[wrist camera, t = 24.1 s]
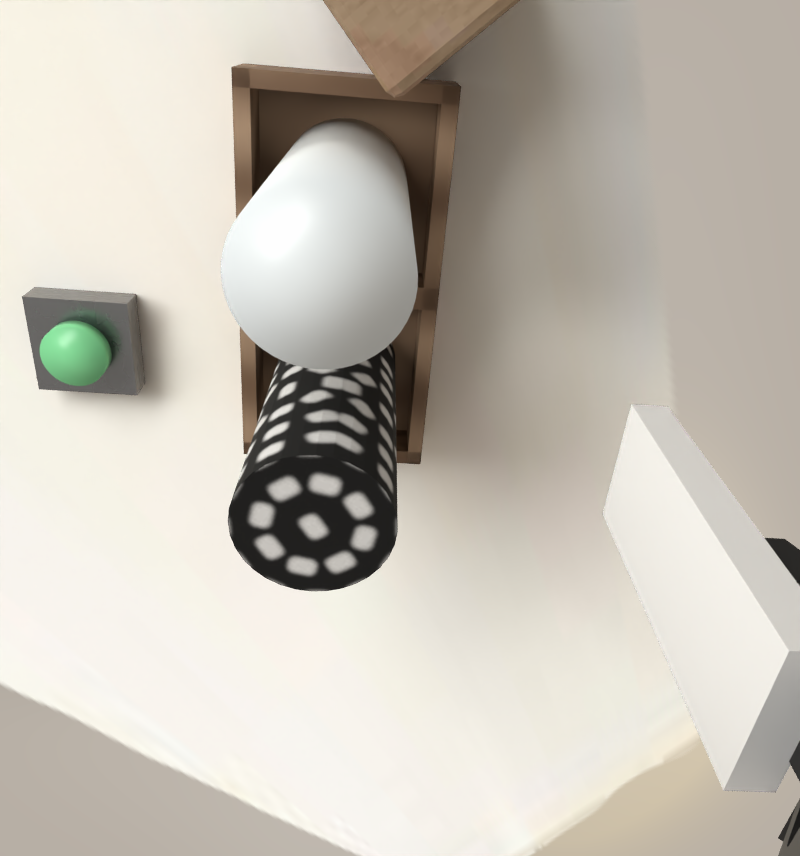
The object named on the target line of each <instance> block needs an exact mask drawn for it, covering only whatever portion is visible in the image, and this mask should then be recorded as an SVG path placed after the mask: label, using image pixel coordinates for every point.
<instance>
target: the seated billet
mask: <svg viewBox="0 0 800 856" xmlns="http://www.w3.org/2000/svg"><path fill="white" fill-rule="evenodd" d="M221 278H222V286H223V290H224V294H225V298H226V301H227V303H228V306H229V308H230V311H231V312H232V314H233V316H234V318H235V320H236V321H237V323H238V324H239V326H240V327H241V328H242V330H243V331H244V332H245V333H246V334H247V335H248V337H249V338H250V339H251V340H252V341H253V342H255V343H256V344H257V345H258V346H259V347H260V348H262V349H263V350H265V351H266V352H268V353H269V354H271V355H272V356H274V357H276V358H278V359H280V360H282V361H285V362H287V363H290V364H293V365H296V366H300V367H304V368H311V369H338V368H344V367H348V366H352V365H355V364H358V363H361V362H363V361H366V360H367V359H369V358H371V357H373V356H375V355H376V354H378V353H379V352H381V351H382V350H384V349H385V348H386V347H387V346H388V345H389V344H390V343H391V342H392V341H393V340H394V339H395V338H396V337H397V336H398V335H399V333H400V332H401V331H402V329H403V327H404V326H405V324H406V323H407V321H408V319H409V317H410V314H411V312H412V310H413V306H414V303H415V300H416V294H417V288H418V271H417V262H416V253H415V245H414V236H413V228H412V219H411V211H410V202H409V194H408V185H407V177H406V170H405V166H404V163H403V160H402V158H401V155H400V153H399V152H398V150H397V148H396V147H395V145H394V144H393V142H392V141H391V140H390V139H389V138H388V137H387V136H386V135H385V134H384V133H383V132H382V131H380V130H379V129H377V128H376V127H374V126H373V125H371V124H368V123H366V122H364V121H360V120H357V119H351V118H335V119H330V120H326V121H323V122H320V123H318V124H316V125H314V126H313V127H311V128H309V129H308V130H307V131H306V132H304V133H303V134H302V135H301V136H300V137H299V139H298V140H297V141H296V142H295V143H294V145H293V146H292V147H291V148H290V150H289V151H288V152H287V154H286V155H285V156H284V157H283V159H282V160H281V161H280V163H279V164H278V165H277V166H276V168H275V169H274V170H273V172H272V173H271V174H270V175H269V177H268V178H267V179H266V181H265V182H264V183H263V184H262V186H261V187H260V188H259V190H258V191H257V192H256V193H255V195H254V196H253V197H252V199H251V200H250V201H249V202H248V204H247V205H246V206H245V208H244V209H243V210H242V211H241V213H240V214H239V216H238V217H237V219H236V220H235V222H234V223H233V225H232V227H231V229H230V231H229V233H228V235H227V238H226V241H225V244H224V247H223V253H222V259H221Z"/></svg>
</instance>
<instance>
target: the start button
mask: <svg viewBox="0 0 800 856" xmlns="http://www.w3.org/2000/svg"><path fill="white" fill-rule="evenodd" d="M40 357H41V360H42V363H43V365H44V366H45V368H46V369H47V370H48V372H49V373H50V374H51V375H52V376H54V377H55V378H56V379H58V380H60V381H61V382H64V383H66V384H69V385H73V386H86V385H90V384H92V383H94V382H96V381H97V380H98V379H99V378H100V377H101V376H102V375H103V374H104V372H105V371H106V370H107V369H108V367H109V365H110V363H111V357H112V354H111V348H110V345H109V343H108V341H107V339H106V338H105V336H104V335H103V334H102V333H101V332H100V331H99V330H98V329H96V328H95V327H93V326H92V325H89V324H87V323H85V322H81V321H65V322H62V323H59V324H58V325H56V326H55V327H54V328H52V329H51V330H50V331H49V332H48V333H47V334H46V335H45V336H44V337H43V339H42V341H41V344H40Z"/></svg>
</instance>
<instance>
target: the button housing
mask: <svg viewBox="0 0 800 856" xmlns="http://www.w3.org/2000/svg"><path fill="white" fill-rule="evenodd" d="M22 299H23V304H24V310H25V315H26V320H27V326H28V331H29V337H30V342H31V348H32V353H33V358H34V364H35V369H36V375H37V380H38V386H39V389H46V390H62V391H78V392H94V393H110V394H126V395H138V393H139V392H140V390H141V389H142V387H143V386H144V384H145V377H144V368H143V358H142V349H141V339H140V329H139V320H138V310H137V301H136V294H126V293H111V292H97V291H82V290H68V289H53V288H39V287H34V288H33V289H32V290H30V291H29V292H28V293H26V294H25V295H24V296H22ZM65 321H81V322H85V323H87V324H89V325H92V326H93V327H95V328H96V329H98V330H99V331H100V332H101V333H102V334H103V335H104V336H105V338H106V339H107V341H108V343H109V345H110V348H111V354H112V357H111V363H110V365H109V367H108V369H107V370H106V371H105V372H104V374H103V375H102V376H101V377H100V378H99V379H98V380H97V381H96V382H94V383H92V384H90V385H86V386H73V385H69V384H66V383H64V382H61V381H60V380H58V379H56V378H55V377H54V376H52V375H51V374H50V373H49V372H48V370H47V369H46V368H45V366H44V365H43V363H42V360H41V357H40V344H41V341H42V339H43V337H44V336H45V335H46V334H47V333H48V332H49V331H50V330H51V329H52V328H54V327H55V326H56V325H58V324H59V323H62V322H65Z"/></svg>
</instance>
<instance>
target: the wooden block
mask: <svg viewBox="0 0 800 856" xmlns="http://www.w3.org/2000/svg"><path fill="white" fill-rule="evenodd" d="M323 1H324V3H325V4H326V5H327V7H328V8H329V10H330V11H331V13H332V14H333V16H334V17H335V19H336V20H337V21H338V23H339V24H340V26H341V27H342V29H343V30H344V32H345V33H346V35H347V36H348V38H349V39H350V40H351V42H352V43H353V45H354V46H355V48H356V49H357V51H358V52H359V54H360V55H361V56H362V58H363V59H364V61H365V62H366V64H367V65H368V67H369V68H370V70H371V71H372V72H373V74H374V75H375V77H376V78H377V80H378V81H379V83H380V84H381V86H382V87H383V88H384V90H385V91H386V92H387V93H388V94H390V95H391V96H393V97H394V98H395V97H399V96H402V95H405V94H406V93H407V92H409V91H410V90H411V89H412V88H414V87H415V86H416V85H417V84H418V83H420V82H421V81H422V80H423V79H425V78H426V77H427V76H428V75H429V74H431V73H432V72H433V71H434V70H436V69H437V68H438V67H439V66H440V65H442V64H443V63H444V62H445V61H447V60H448V59H449V58H450V57H451V56H453V55H454V54H455V53H456V52H458V51H459V50H460V49H461V48H462V47H464V46H465V45H466V44H467V43H469V42H470V41H471V40H472V39H473V38H475V37H476V36H477V35H478V34H480V33H481V32H482V31H483V30H484V29H486V28H487V27H488V26H489V25H491V24H492V23H493V22H494V21H495V20H497V19H498V18H499V17H500V16H502V15H503V14H504V13H505V12H506V11H508V10H509V9H510V8H511V7H513V6H514V5H515V4H516V3H517V2H519V1H520V0H323Z"/></svg>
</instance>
